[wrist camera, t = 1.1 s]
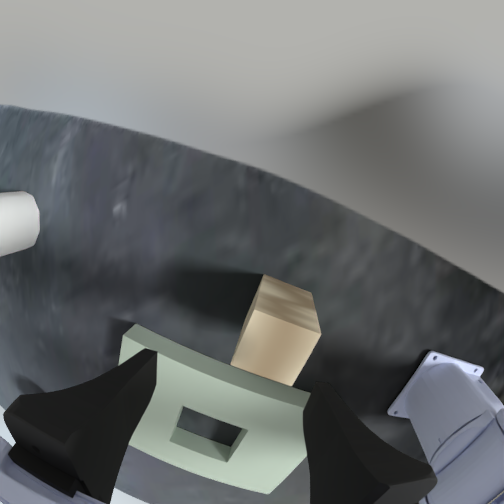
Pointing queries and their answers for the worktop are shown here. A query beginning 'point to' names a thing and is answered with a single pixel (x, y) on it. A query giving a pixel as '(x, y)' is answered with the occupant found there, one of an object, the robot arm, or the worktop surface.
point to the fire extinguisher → (18, 222)
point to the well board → (218, 416)
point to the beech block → (277, 332)
